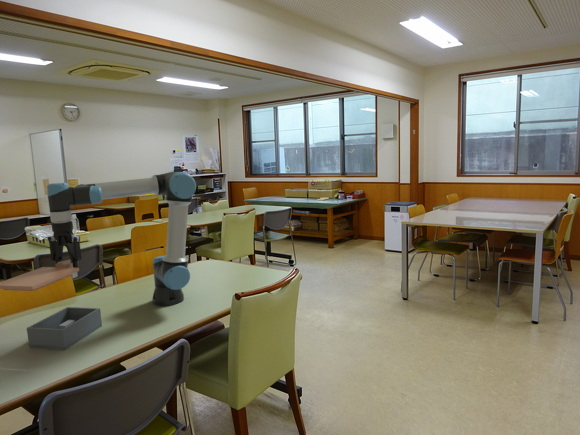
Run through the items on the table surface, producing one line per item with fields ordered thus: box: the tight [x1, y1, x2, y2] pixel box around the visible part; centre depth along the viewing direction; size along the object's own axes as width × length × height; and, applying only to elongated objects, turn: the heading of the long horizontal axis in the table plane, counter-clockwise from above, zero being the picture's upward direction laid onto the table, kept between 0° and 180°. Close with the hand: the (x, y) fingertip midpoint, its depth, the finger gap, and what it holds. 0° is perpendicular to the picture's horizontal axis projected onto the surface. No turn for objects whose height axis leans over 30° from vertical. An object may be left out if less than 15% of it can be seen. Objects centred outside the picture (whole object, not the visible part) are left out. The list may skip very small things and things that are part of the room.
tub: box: [26, 306, 103, 351], centre depth 169 cm, size 16×22×8 cm
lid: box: [0, 259, 80, 292], centre depth 158 cm, size 17×30×4 cm, turn 169°
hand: (68, 277), depth 170 cm, fingers closed on lid, 5 cm apart
